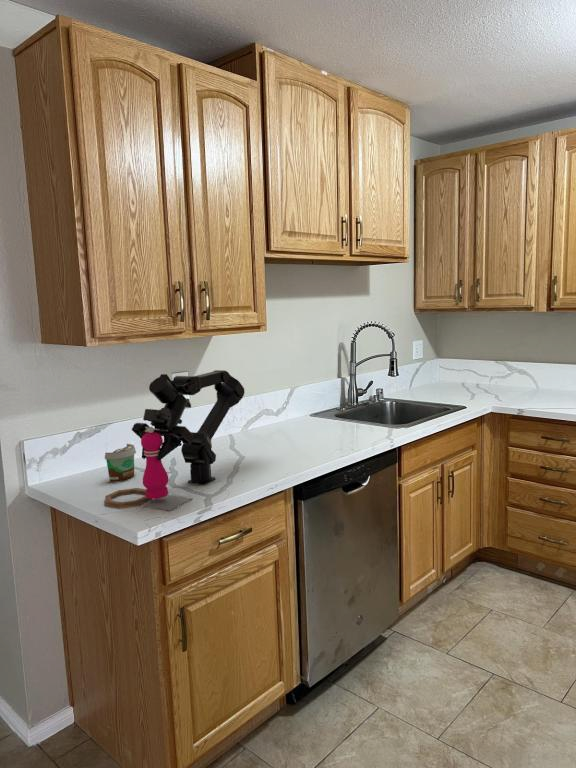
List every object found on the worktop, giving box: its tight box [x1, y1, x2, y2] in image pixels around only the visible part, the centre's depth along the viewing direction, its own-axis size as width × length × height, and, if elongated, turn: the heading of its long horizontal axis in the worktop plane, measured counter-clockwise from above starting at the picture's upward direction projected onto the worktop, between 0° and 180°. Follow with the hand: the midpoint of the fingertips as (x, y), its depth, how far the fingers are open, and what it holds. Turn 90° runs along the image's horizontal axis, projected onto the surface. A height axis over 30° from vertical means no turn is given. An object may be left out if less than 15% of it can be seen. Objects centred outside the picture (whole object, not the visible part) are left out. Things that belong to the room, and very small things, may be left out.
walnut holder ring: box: [104, 487, 153, 509], centre depth 174 cm, size 13×13×1 cm
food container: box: [104, 443, 137, 483], centre depth 195 cm, size 12×6×10 cm, turn 158°
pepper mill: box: [140, 426, 170, 500], centre depth 168 cm, size 7×7×20 cm
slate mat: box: [141, 494, 194, 512], centre depth 170 cm, size 10×10×1 cm
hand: (150, 459), depth 167 cm, fingers closed on pepper mill, 5 cm apart
